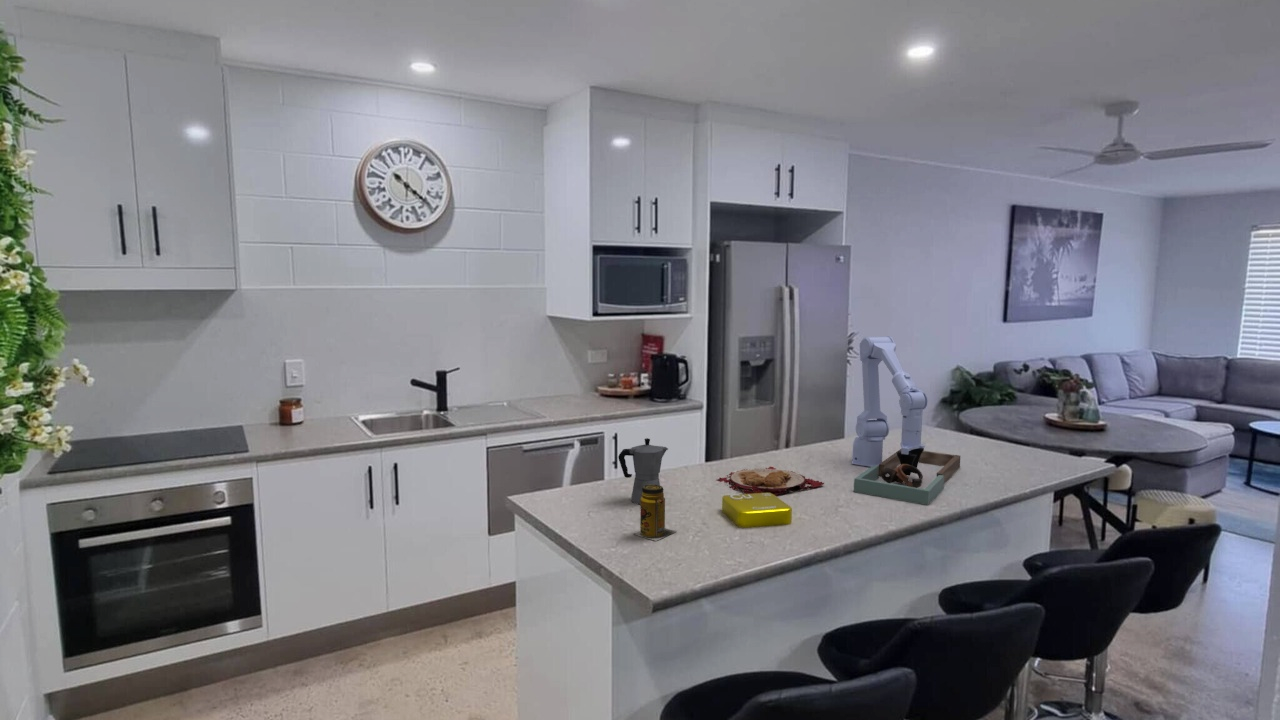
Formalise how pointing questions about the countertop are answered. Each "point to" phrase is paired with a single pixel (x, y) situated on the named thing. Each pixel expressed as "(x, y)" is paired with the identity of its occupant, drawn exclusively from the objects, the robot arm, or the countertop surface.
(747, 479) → the plate with food
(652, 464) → the coffeepot
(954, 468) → the brown wooden frame
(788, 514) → the element tile
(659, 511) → the condiment
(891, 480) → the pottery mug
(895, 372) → the robot arm
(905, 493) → the frame
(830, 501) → the countertop surface
